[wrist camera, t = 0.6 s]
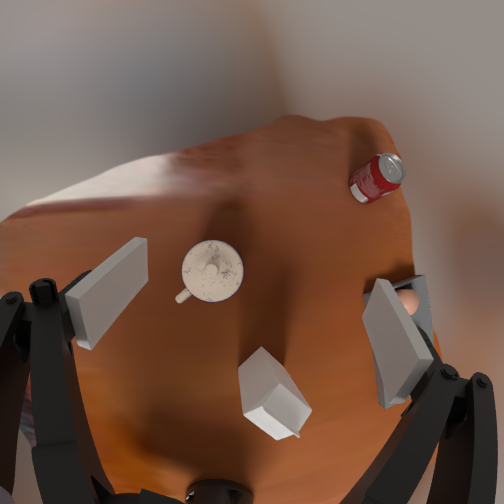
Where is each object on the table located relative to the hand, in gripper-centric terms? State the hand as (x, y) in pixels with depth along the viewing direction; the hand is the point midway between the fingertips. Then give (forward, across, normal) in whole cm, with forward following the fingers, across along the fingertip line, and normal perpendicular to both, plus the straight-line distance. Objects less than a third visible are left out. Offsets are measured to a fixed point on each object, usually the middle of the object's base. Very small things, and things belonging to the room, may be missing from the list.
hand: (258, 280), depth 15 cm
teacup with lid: (+29, +9, +17) cm, 35 cm away
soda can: (+42, -17, -1) cm, 46 cm away
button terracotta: (+31, -28, +17) cm, 45 cm away
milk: (+23, -3, +30) cm, 38 cm away
